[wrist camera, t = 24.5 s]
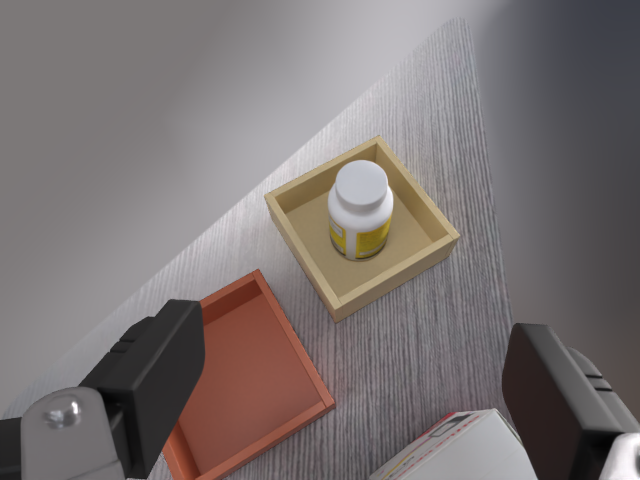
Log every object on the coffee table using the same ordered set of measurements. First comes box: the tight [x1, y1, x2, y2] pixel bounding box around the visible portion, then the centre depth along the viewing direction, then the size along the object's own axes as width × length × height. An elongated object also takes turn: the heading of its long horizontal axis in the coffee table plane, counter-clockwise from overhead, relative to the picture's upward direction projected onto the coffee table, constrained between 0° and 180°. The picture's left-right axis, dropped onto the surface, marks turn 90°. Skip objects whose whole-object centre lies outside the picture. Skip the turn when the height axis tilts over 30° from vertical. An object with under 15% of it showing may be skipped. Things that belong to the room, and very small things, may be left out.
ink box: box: [370, 409, 538, 480], centre depth 30 cm, size 9×5×12 cm, turn 124°
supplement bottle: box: [328, 160, 393, 261], centre depth 39 cm, size 5×5×10 cm
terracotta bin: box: [162, 269, 336, 480], centre depth 37 cm, size 12×12×5 cm
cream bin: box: [264, 135, 460, 323], centre depth 42 cm, size 12×12×5 cm
